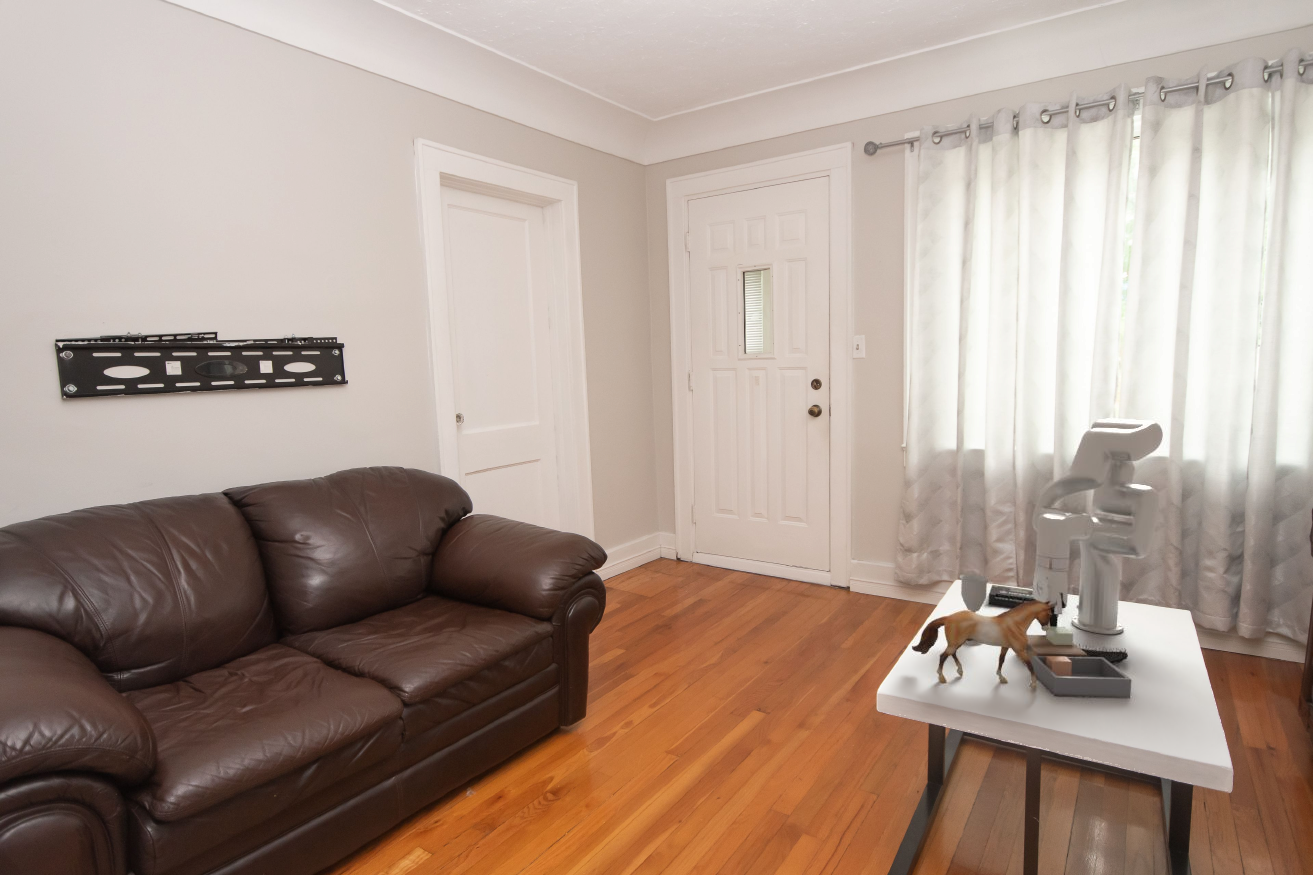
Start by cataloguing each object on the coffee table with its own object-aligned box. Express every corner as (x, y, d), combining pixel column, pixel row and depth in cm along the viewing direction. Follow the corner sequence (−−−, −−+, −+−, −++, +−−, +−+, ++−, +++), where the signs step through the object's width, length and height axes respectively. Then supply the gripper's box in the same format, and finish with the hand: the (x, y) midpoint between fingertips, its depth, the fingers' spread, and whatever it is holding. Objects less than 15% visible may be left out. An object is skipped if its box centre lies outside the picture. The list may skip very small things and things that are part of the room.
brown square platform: (1017, 652, 185) (1017, 634, 184) (1062, 653, 184) (1063, 635, 183) (1037, 672, 173) (1038, 653, 173) (1086, 673, 172) (1087, 654, 172)
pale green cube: (1045, 637, 182) (1046, 626, 182) (1063, 637, 182) (1064, 626, 181) (1053, 644, 178) (1054, 633, 177) (1072, 644, 177) (1073, 633, 177)
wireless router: (987, 607, 220) (989, 554, 218) (992, 594, 232) (994, 543, 230) (1061, 618, 210) (1064, 562, 208) (1062, 604, 222) (1064, 551, 220)
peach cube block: (1046, 656, 171) (1052, 661, 168) (1065, 656, 170) (1071, 661, 167) (1045, 673, 171) (1051, 679, 168) (1064, 673, 171) (1070, 679, 168)
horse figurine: (1049, 682, 168) (1052, 599, 166) (1057, 697, 161) (1061, 610, 158) (911, 667, 177) (913, 588, 175) (912, 681, 170) (914, 598, 168)
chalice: (957, 644, 191) (959, 580, 189) (957, 635, 197) (959, 573, 195) (987, 648, 188) (989, 583, 186) (986, 638, 195) (988, 575, 193)
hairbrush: (1021, 628, 196) (1129, 645, 180) (1022, 641, 196) (1129, 659, 180) (1014, 637, 189) (1125, 656, 173) (1014, 650, 189) (1125, 670, 174)
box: (1031, 673, 173) (1032, 655, 172) (1102, 674, 171) (1103, 657, 171) (1054, 696, 161) (1055, 677, 161) (1130, 698, 160) (1131, 679, 159)
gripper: (1025, 553, 191) (1022, 619, 193) (1050, 569, 176) (1046, 640, 178) (1054, 554, 190) (1051, 619, 192) (1081, 570, 175) (1078, 641, 177)
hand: (1049, 629), depth 185 cm, fingers closed
